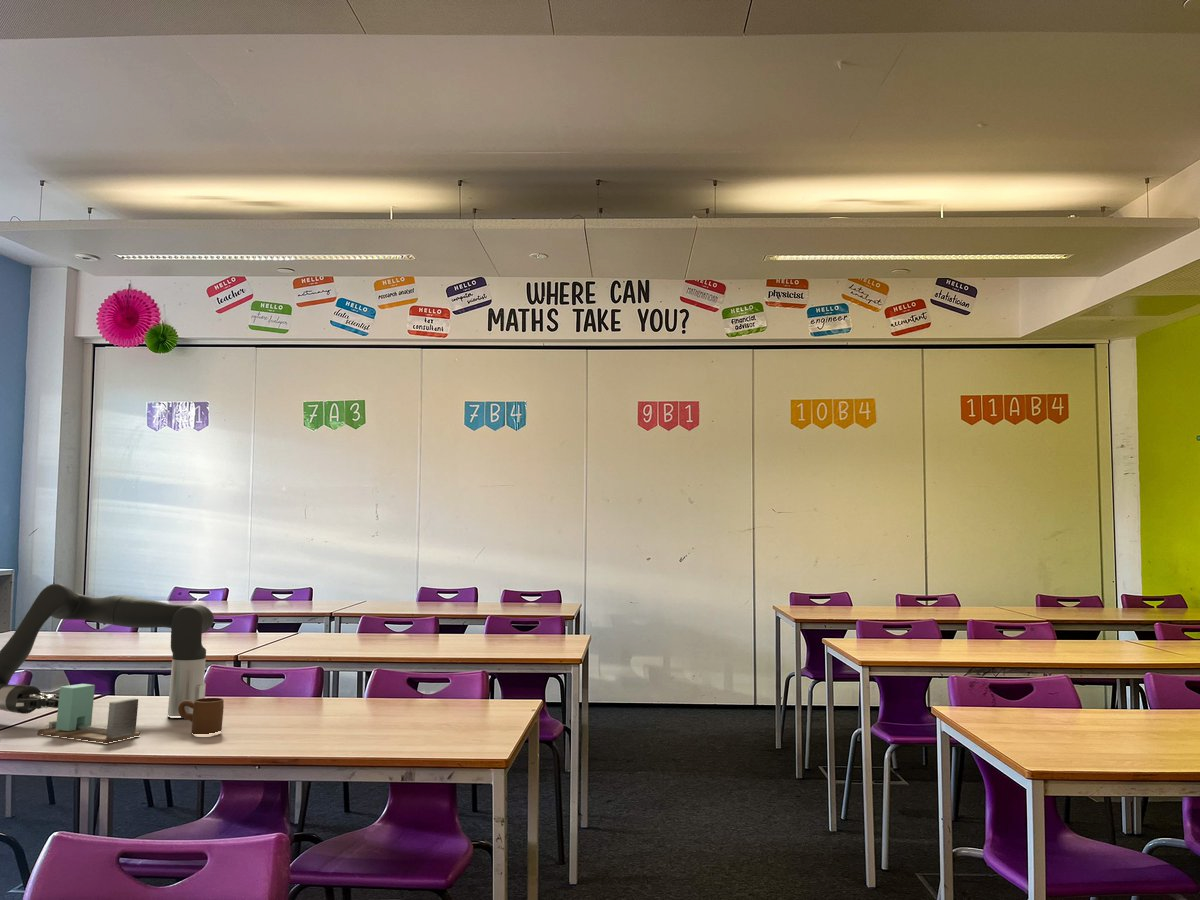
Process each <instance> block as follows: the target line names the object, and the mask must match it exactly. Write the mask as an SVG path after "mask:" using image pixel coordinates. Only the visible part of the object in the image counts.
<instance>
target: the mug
mask: <svg viewBox="0 0 1200 900" xmlns="http://www.w3.org/2000/svg"><path fill="white" fill-rule="evenodd" d="M224 700H225V699H224V698H221V697H205V698H202V699H197V700H195V701H194V702H192V701H190V700H186V701H183V702H182V703H181V704H180V705H179V708H178V711H179V714H180V716H181V717H182V718H184V719H185V720H189V721H190V722H191V734H192V733H193V734H209V733H215V732H218V731H221V730H223V720H224V705H225V704H224V702H225V701H224ZM185 706H188V707H190V708H193V714H192V713H187V712H186V711H185ZM184 719H183V720H184ZM221 732H222V731H221Z"/></svg>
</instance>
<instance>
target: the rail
mask: <svg viewBox="0 0 1200 900" xmlns="http://www.w3.org/2000/svg"><path fill="white" fill-rule="evenodd" d="M108 703H109V706H108V713H107V727H105V726H99V725H92V724H91V725H84V724H77V723H76V730H77V731H84V732H91V733H99V734H106V738H110V739H113V738H117V737H122V736H127V735H131V734H135V733H136V732H137V731H136V730H137V719H138V707H139V699H138V698H128V699H122V700H117V701H110V702H108ZM56 723H57V720H52V721H49V722H48V728H51V729H52V728H56Z"/></svg>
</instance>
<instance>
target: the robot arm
mask: <svg viewBox="0 0 1200 900" xmlns="http://www.w3.org/2000/svg"><path fill="white" fill-rule="evenodd" d="M51 617H52V618H54V619H56V620H57V619H58V620H69V621H70V620H71V621H72V620H74V621H76V620H78V621H79V620H80V621H91V622H97V623H100V624H107V625H111V626H112V625H113V626H118V627H124V628H134V629H135V628H136V629H137V628H139V629H140V628H141V629H143V628H145V629H147V628H148V629H150V628H153V629H155V628H168V629H171V630H170V650H171V653H172V654H171V655H172V659H171V669H170V670H171V671H170V672H171V673H170V680H169V681H170V682H169V683H170V684H169V694H168V706H167V716H168V715H169V716H180V714H179V711H178V708H179V705H180V704H181V703H182V702H183V701H186V700H190V701H192V702H194V701H195V700H197V699H202V698H206V686H207V683H206V682H205V671H206V669H205V668H206V661H207V660H206V657H207V649H206V648H205V647H204V646H203V644H202V643H203V642H202V637H203V635H202V634H204V633H207V631H209V630H210V629H211V628H212V626H213V625H214V621H215V617H214V613H213V612H212V610H210V609H209V608H208V607H207V606H204V605H201V604H177V603H176V604H174V603H167V602H162V601H159V600H154V599H148V598H144V597H143V598H142V597H137V596H130V595H120V594H119V595H118V594H116V595H111V596H106V597H94V596H90V595H85V594H81V593H78V592H76V591H75V590H74V591H73V590H72V589H71V588H69V587H68V586H66V585H65V584H62V583H59V582H58V583H52V584H49V585H47V586H46V587H44V588H43V589H42V590H41V591H40V592H39V594H38V595H37V597H36V598H35V600H34V601H33V603H32V605H31V606H30V608H29V610H28V612H26V614H25V616H24V617H23V618H22V620H21V622H20V623H19V626H18V627H17V628H16V630H15V631H14V632H13V634H12V636H11V637H10V639H8V641H7V642H6V643H5V645H4V646H2V648H1V649H0V711H4V712H8V713H14V714H22V715H24V714H25V715H26V714H31V713H32V712H34V711H36V709H37V710H39V709H44V708H45V709H47V708H53V709H58V703H59V694H60V692H57V693H55V694H53V696H52V695H51V694H47V693H45V692H42V691H41V690H40V689H39V688H38V687H36V686H34V685H25V684H23V685H22V684H9V683H10V681H11V680H12V677H13V675H15V673H16V672H17V671H18V670H19V668H20V667H21V666H22V665H23V663H24V662H25V661H26V659H27V658H28V657H29V655H30V654H31V651H32V649H33V647H34V643H35V642H36V638H37V636H38V635H39V632H40V630H41V629H42V627H43V625H44V624H45V623H46V622H47V621H48V620H49V619H50V618H51ZM185 711H186V712H187V713H192V714H193V708H190V707H188V706H185Z"/></svg>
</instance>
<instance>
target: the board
mask: <svg viewBox="0 0 1200 900" xmlns="http://www.w3.org/2000/svg"><path fill="white" fill-rule="evenodd" d="M37 734H43V735H51V736H59V737H67V738H74V739H81V740H88V741H96V742H103V743H109V742H113V741H118V740H123V739H127V738H130V737H134V736H139V735H140V736H141V732H140V731H136V733H135V734H131V735H127V736H122V737H117V738H113V739H110V738H106V734H99V733H91V732H84V731H77V730H72V731H64V730H57V729H56V728H52V729H51V728H49V727H48V728H42V729H37Z"/></svg>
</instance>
